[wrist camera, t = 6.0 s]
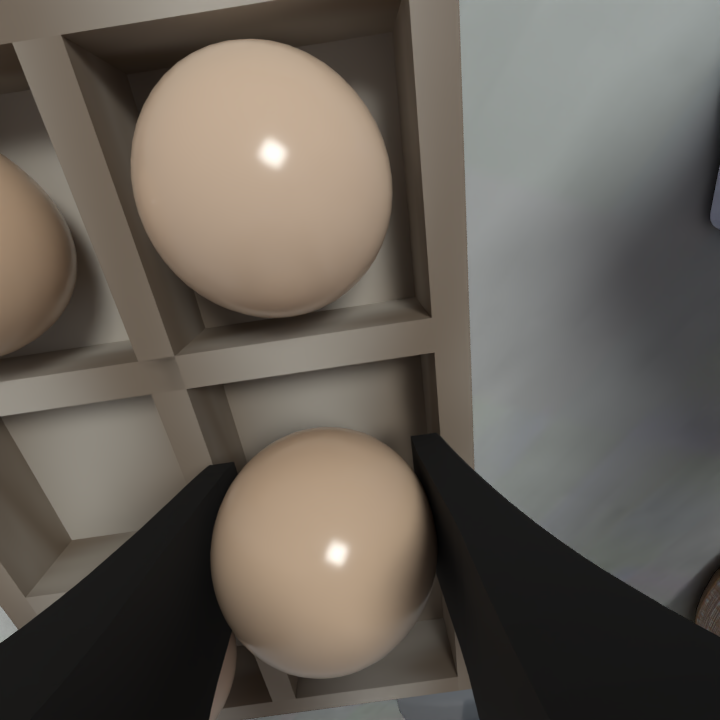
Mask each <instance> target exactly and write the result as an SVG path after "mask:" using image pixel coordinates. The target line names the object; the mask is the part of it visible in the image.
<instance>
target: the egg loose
mask: <svg viewBox="0 0 720 720" xmlns="http://www.w3.org/2000/svg"><path fill="white" fill-rule="evenodd" d="M437 557H438V542H437V533H436V527H435V522H434V517H433V513H432V510H431V507H430V503H429V500H428V497H427V495H426V492H425V490H424V487H423V485H422V483H421V482H420V480H419V479H418V477H417V475H416V474H415V473H414V471H413V470H412V468H411V467H410V466H409V465H408V464H407V463H406V462H405V460H404V459H403V458H402V457H401V456H400V455H399V454H398V453H397V452H395V451H394V450H393V449H392V448H390V447H389V446H388V445H386V444H384V443H383V442H381V441H379V440H378V439H376V438H374V437H372V436H370V435H367V434H365V433H363V432H359V431H356V430H353V429H347V428H341V427H316V428H310V429H304V430H301V431H297V432H294V433H292V434H289V435H287V436H285V437H282V438H280V439H278V440H276V441H275V442H273V443H271V444H270V445H268V446H267V447H265V448H264V449H263V450H261V451H260V452H259V453H258V454H256V455H255V456H254V457H253V458H252V459H251V460H250V461H249V462H248V463H247V464H246V465H245V466H244V467H243V468H242V470H241V471H240V472H239V474H238V475H237V476H236V478H235V479H234V481H233V482H232V483H231V485H230V487H229V489H228V491H227V493H226V495H225V497H224V499H223V501H222V503H221V505H220V508H219V511H218V514H217V517H216V521H215V524H214V527H213V533H212V541H211V550H210V562H211V577H212V582H213V587H214V591H215V595H216V599H217V601H218V604H219V606H220V609H221V611H222V614H223V616H224V618H225V620H226V622H227V623H228V625H229V626H230V628H231V629H232V631H233V633H234V634H235V635H236V637H237V638H238V640H239V641H240V642H241V643H242V644H243V645H244V646H245V647H246V648H247V649H248V650H249V651H250V652H251V653H252V654H253V655H255V656H256V657H257V658H258V659H260V660H261V661H263V662H264V663H266V664H268V665H270V666H272V667H274V668H276V669H278V670H280V671H282V672H285V673H287V674H290V675H294V676H298V677H304V678H313V679H326V678H335V677H341V676H345V675H349V674H352V673H355V672H358V671H360V670H362V669H364V668H366V667H368V666H370V665H372V664H374V663H376V662H378V661H379V660H381V659H382V658H384V657H385V656H386V655H387V654H389V653H390V652H391V651H392V650H393V649H394V648H395V647H396V646H397V645H399V644H400V643H401V642H402V641H403V639H404V638H405V637H406V636H407V635H408V633H409V632H410V631H411V629H412V628H413V627H414V625H415V624H416V622H417V620H418V619H419V617H420V615H421V613H422V611H423V609H424V607H425V605H426V603H427V601H428V598H429V596H430V593H431V589H432V586H433V582H434V578H435V574H436V566H437Z"/></svg>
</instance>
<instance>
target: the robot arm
mask: <svg viewBox="0 0 720 720" xmlns="http://www.w3.org/2000/svg"><path fill="white" fill-rule="evenodd" d="M710 220H711V222H712V224H713V226H714V227H716V228H718V229H720V167H719V172H718V177H717V182H716V187H715V192H714V197H713V202H712V207H711V213H710ZM410 437H411V446H412V456H413V465H414V473H415V474H416V475H417V477H418V479H419V480H420V482H421V483H422V485H423V487H424V490H425V492H426V495H427V497H428V500H429V503H430V507H431V510H432V513H433V517H434V522H435V527H436V533H437V542H438V557H437V566H436V575H437V578H438V581H439V584H440V587H441V590H442V593H443V596H444V599H445V602H446V605H447V608H448V611H449V614H450V617H451V621H452V624H453V627H454V630H455V633H456V636H457V639H458V642H459V645H460V648H461V651H462V655H463V658H464V661H465V665H466V668H467V672H468V675H469V679H470V683H471V687H472V691H473V696H474V700H475V704H476V708H477V712H478V716H479V720H720V637H719V636H718V635H716V634H714V633H712V632H710V631H708V630H706V629H704V628H703V627H701V626H699V625H697V624H695V623H693V622H691V621H690V620H688V619H686V618H684V617H682V616H681V615H679V614H677V613H675V612H674V611H672V610H670V609H668V608H666V607H665V606H663V605H661V604H660V603H658V602H656V601H655V600H653V599H651V598H650V597H648V596H646V595H644V594H643V593H641V592H639V591H638V590H636V589H634V588H633V587H631V586H629V585H628V584H626V583H624V582H623V581H621V580H619V579H618V578H616V577H614V576H613V575H611V574H609V573H608V572H606V571H604V570H603V569H601V568H600V567H598V566H597V565H595V564H594V563H592V562H590V561H589V560H587V559H586V558H584V557H583V556H581V555H580V554H578V553H577V552H576V551H574V550H573V549H571V548H570V547H568V546H567V545H566V544H564V543H563V542H561V541H560V540H558V539H557V538H556V537H554V536H553V535H551V534H550V533H549V532H547V531H546V530H545V529H543V528H542V527H541V526H539V525H538V524H537V523H535V522H534V521H533V520H532V519H530V518H529V517H528V516H526V515H525V514H524V513H523V512H522V511H520V510H519V509H518V508H517V507H515V506H514V505H513V504H512V503H510V502H509V501H508V500H507V499H506V498H504V497H503V496H502V495H501V494H500V493H499V492H497V491H496V490H495V489H494V488H493V487H492V486H491V485H490V484H489V483H487V482H486V481H485V480H484V479H483V478H482V477H481V476H480V475H479V474H477V473H476V472H475V471H474V470H473V469H472V468H471V467H470V466H469V465H468V464H467V463H466V462H465V461H464V460H463V459H462V458H461V457H460V456H459V455H458V454H457V453H456V452H455V451H454V450H453V449H452V448H451V447H450V446H449V445H448V443H447V442H446V441H445V440H444V439H443V438H442V437H441V436H440V435H439V434H437V433H430V434H423V435H416V436H410ZM237 475H238V473H237V470H236V466H235V463H234V462H229V463H222V464H215V465H209V466H207V467H206V468H205V469H204V470H203V471H201V472H200V473H199V474H198V475H197V476H196V477H195V478H194V479H193V480H192V481H190V482H189V483H188V484H187V485H186V486H185V487H184V488H183V489H182V490H181V491H180V492H179V493H178V494H177V495H176V496H175V497H174V498H172V499H171V500H170V501H169V502H168V503H167V504H166V505H165V506H164V507H163V508H162V509H161V510H160V511H159V512H158V513H157V514H155V515H154V516H153V517H152V518H151V519H150V520H149V521H148V522H147V523H146V524H145V525H144V526H143V527H142V528H140V529H139V530H138V531H137V532H136V533H135V534H134V535H133V536H132V537H131V538H129V539H128V540H127V541H126V542H125V543H124V544H123V545H121V546H120V547H119V548H118V549H117V550H116V551H115V552H113V553H112V554H111V555H110V556H109V557H108V558H107V559H105V560H104V561H103V562H102V563H101V564H100V565H99V566H97V567H96V568H95V569H94V570H93V571H92V572H91V573H90V574H88V575H87V576H86V577H85V578H84V579H82V580H81V581H80V582H79V583H78V584H76V585H75V586H74V587H73V588H71V589H70V590H69V591H68V592H67V593H65V594H64V595H63V596H62V597H60V598H59V599H58V600H57V601H55V602H54V603H53V604H51V605H50V606H49V607H48V608H46V609H45V610H44V611H42V612H41V613H40V614H38V615H37V616H36V617H35V618H33V619H32V620H31V621H29V622H28V623H27V624H26V625H24V626H23V627H22V628H20V629H19V630H18V631H16V632H15V633H14V634H12V635H11V636H10V637H8V638H7V639H5V640H4V641H3V642H1V643H0V720H209V718H210V713H211V708H212V704H213V700H214V696H215V692H216V687H217V683H218V679H219V676H220V672H221V669H222V665H223V661H224V658H225V654H226V651H227V647H228V644H229V640H230V636H231V633H232V629H231V628H230V626H229V625H228V623H227V622H226V620H225V618H224V616H223V614H222V611H221V609H220V606H219V604H218V601H217V599H216V595H215V591H214V587H213V582H212V577H211V562H210V550H211V541H212V533H213V527H214V524H215V521H216V517H217V514H218V511H219V508H220V505H221V503H222V501H223V499H224V497H225V495H226V493H227V491H228V489H229V487H230V485H231V483H232V482H233V481H234V479H235V478H236V476H237Z"/></svg>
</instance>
